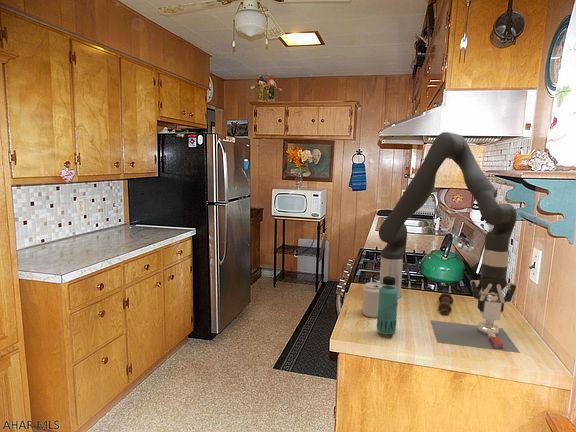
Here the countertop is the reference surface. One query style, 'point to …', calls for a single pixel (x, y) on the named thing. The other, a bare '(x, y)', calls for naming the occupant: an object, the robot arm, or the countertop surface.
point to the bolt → (445, 303)
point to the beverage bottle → (387, 307)
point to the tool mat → (468, 336)
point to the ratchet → (490, 332)
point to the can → (371, 299)
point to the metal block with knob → (491, 307)
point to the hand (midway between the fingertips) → (489, 311)
